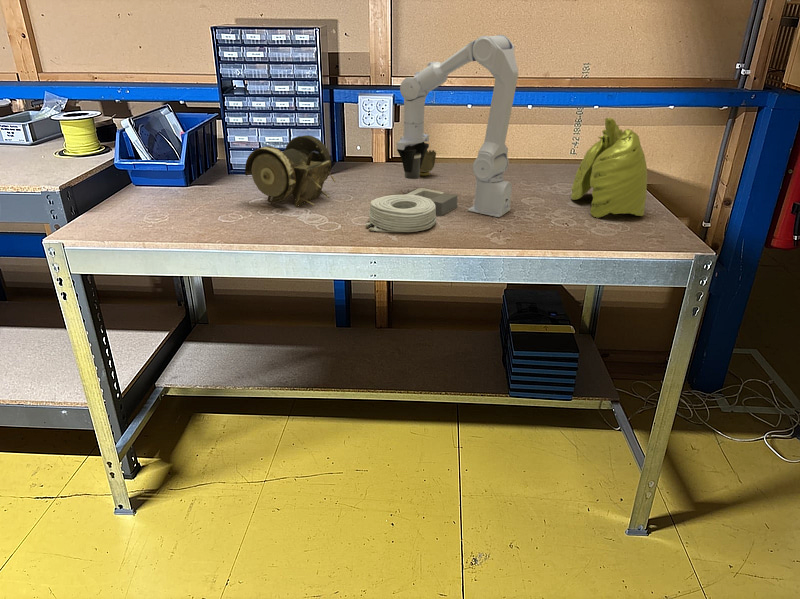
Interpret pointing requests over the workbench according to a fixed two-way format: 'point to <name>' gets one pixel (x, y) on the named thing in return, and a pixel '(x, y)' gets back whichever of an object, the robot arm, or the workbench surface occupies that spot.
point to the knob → (414, 167)
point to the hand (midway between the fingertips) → (412, 170)
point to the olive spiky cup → (427, 163)
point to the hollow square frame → (438, 199)
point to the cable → (401, 213)
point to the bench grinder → (291, 170)
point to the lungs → (613, 173)
